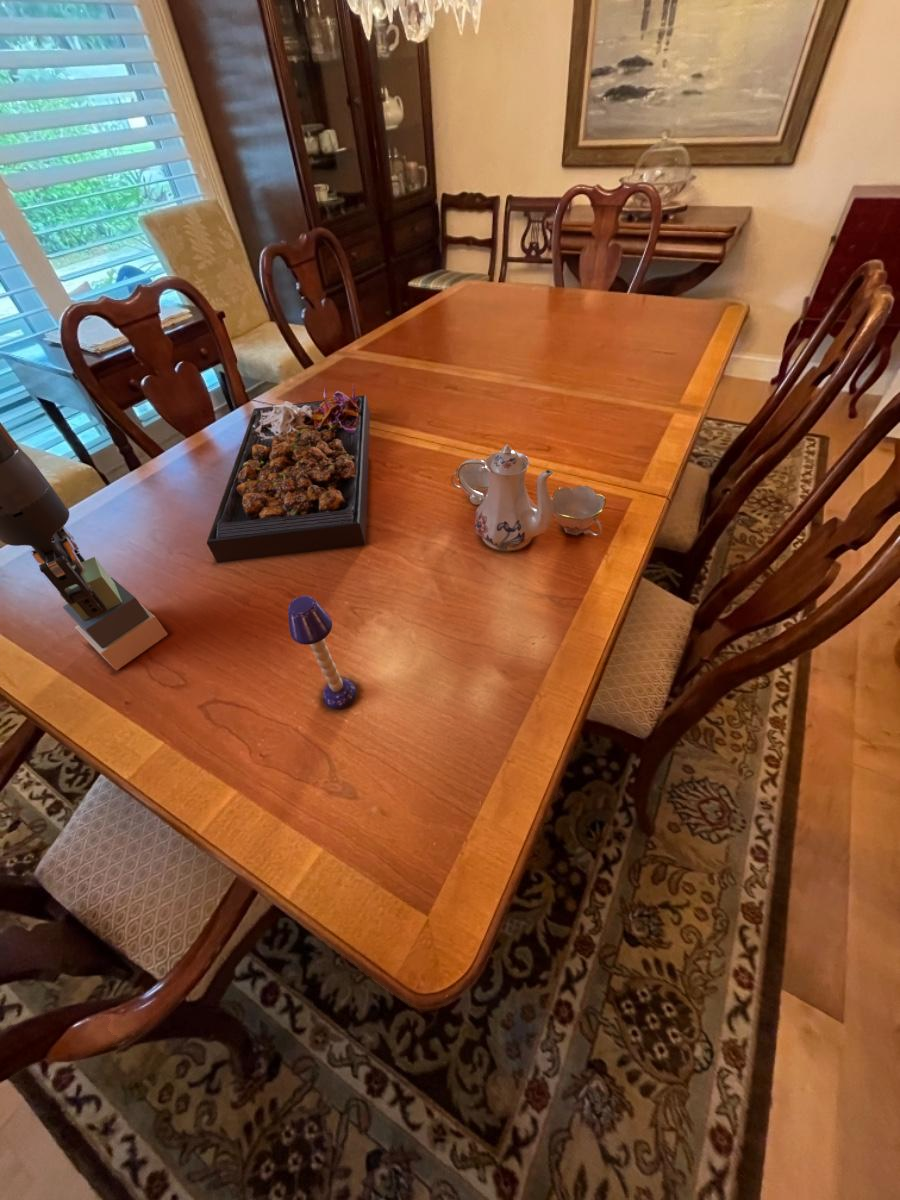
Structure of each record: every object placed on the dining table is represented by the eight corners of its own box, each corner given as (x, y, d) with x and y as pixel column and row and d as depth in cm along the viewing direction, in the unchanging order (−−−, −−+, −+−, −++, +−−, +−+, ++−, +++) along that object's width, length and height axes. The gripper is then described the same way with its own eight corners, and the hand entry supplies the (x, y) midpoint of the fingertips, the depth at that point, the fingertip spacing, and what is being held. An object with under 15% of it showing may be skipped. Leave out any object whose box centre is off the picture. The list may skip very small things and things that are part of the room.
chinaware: (612, 524, 89) (632, 428, 78) (580, 581, 78) (598, 479, 67) (463, 488, 99) (461, 399, 88) (417, 534, 89) (408, 439, 78)
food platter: (260, 427, 119) (243, 381, 112) (370, 414, 119) (360, 368, 112) (217, 562, 88) (190, 512, 81) (365, 545, 88) (351, 493, 81)
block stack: (116, 670, 74) (83, 634, 68) (90, 644, 78) (56, 607, 72) (168, 634, 78) (140, 596, 72) (141, 611, 82) (112, 573, 76)
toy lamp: (313, 703, 67) (270, 615, 55) (332, 674, 70) (295, 584, 58) (346, 713, 66) (309, 626, 54) (364, 684, 69) (333, 594, 57)
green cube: (83, 621, 70) (59, 594, 66) (76, 600, 73) (54, 573, 69) (122, 603, 71) (102, 576, 68) (114, 583, 74) (94, 556, 71)
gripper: (-32, 479, 62) (54, 579, 74) (-25, 539, 54) (71, 641, 65) (38, 455, 65) (111, 555, 76) (55, 508, 56) (134, 612, 68)
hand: (92, 594), depth 71 cm, fingers open, 8 cm apart
